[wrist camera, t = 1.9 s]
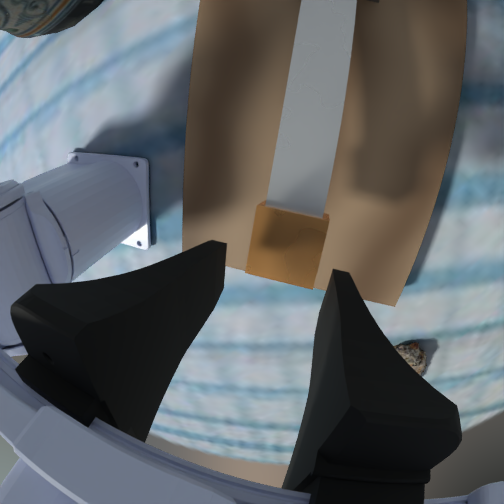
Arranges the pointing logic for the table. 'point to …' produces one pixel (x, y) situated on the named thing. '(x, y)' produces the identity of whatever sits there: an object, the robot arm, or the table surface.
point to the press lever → (305, 147)
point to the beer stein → (42, 15)
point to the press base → (350, 136)
